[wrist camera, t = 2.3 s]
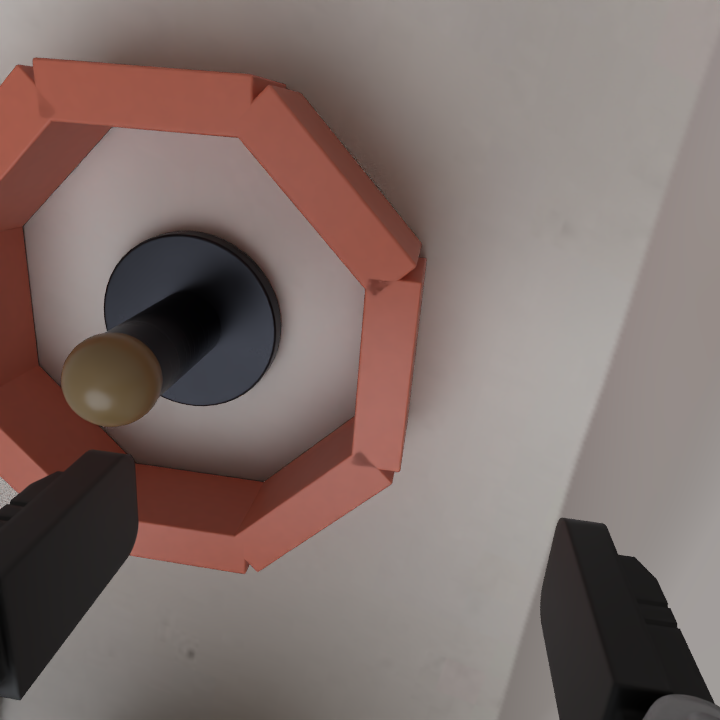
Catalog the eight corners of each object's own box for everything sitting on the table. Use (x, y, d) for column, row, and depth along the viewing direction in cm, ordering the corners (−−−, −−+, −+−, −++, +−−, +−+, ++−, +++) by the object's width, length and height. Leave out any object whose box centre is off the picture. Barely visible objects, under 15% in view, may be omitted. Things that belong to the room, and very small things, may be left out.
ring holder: (221, 197, 21) (111, 228, 14) (313, 357, 22) (253, 455, 16) (81, 279, 23) (-77, 342, 16) (175, 422, 24) (68, 535, 17)
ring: (17, 477, 26) (-46, 528, 23) (-41, 58, 20) (-137, 44, 17) (394, 534, 25) (385, 598, 21) (446, 96, 19) (445, 88, 15)
